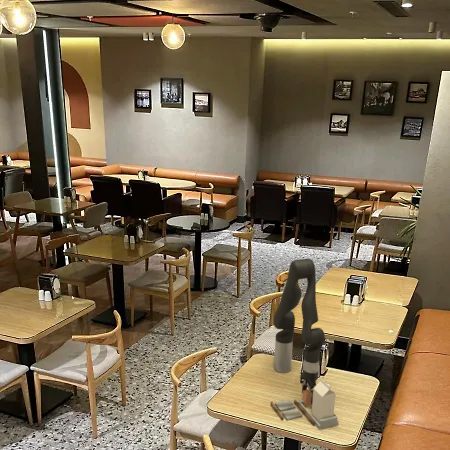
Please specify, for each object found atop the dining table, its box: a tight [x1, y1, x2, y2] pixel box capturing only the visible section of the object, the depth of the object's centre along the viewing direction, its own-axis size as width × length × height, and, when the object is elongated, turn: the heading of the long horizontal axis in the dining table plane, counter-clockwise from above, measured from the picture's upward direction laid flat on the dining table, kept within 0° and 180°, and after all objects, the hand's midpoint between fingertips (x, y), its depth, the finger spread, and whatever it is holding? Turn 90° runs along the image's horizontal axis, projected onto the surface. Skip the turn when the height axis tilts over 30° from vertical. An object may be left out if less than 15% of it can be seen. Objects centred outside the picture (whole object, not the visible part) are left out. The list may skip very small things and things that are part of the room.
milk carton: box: [311, 378, 337, 423], centre depth 218 cm, size 7×7×19 cm
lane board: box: [269, 399, 337, 427], centre depth 225 cm, size 20×24×2 cm
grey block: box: [297, 388, 340, 430], centre depth 223 cm, size 20×10×7 cm, turn 20°
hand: (308, 398), depth 231 cm, fingers open, 8 cm apart
